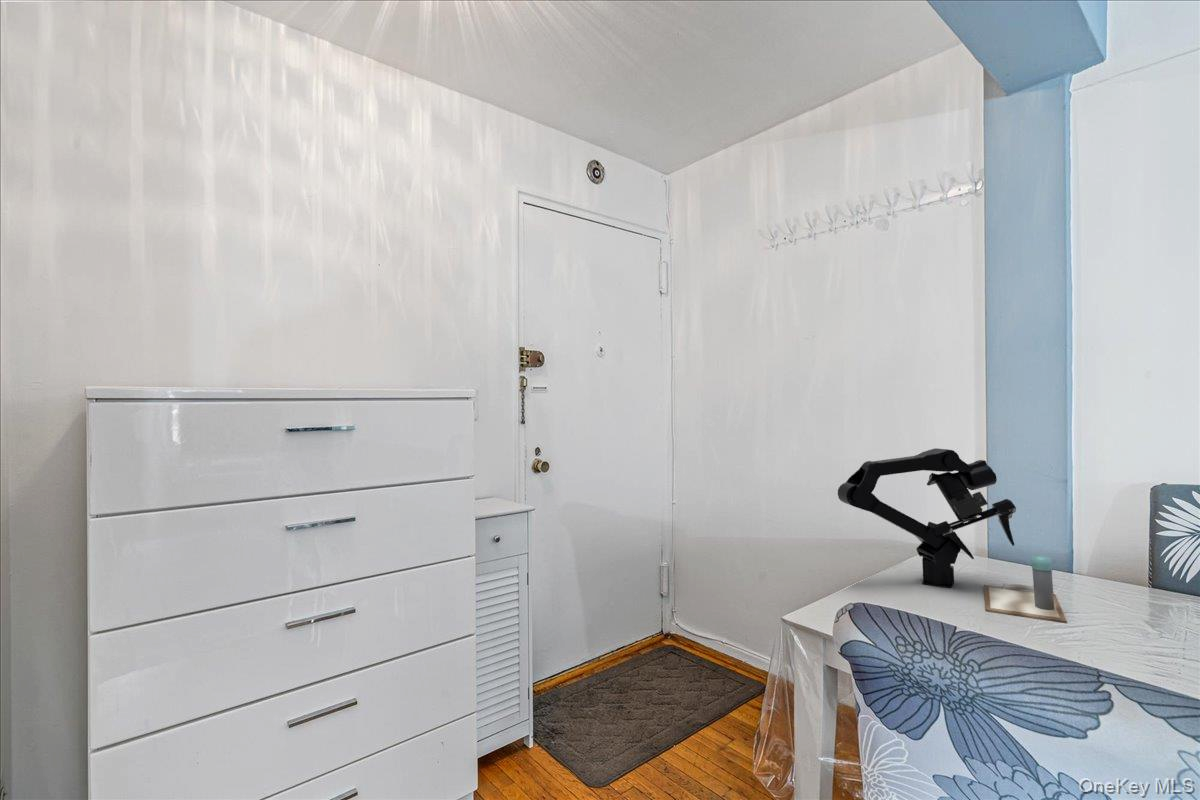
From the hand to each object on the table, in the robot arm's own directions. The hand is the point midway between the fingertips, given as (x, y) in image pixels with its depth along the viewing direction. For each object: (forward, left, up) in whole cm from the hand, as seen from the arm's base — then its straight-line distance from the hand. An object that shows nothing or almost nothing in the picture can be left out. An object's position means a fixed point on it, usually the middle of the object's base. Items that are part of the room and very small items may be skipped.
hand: (993, 552), depth 133 cm
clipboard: (+5, -5, -10) cm, 12 cm away
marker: (+9, -8, -10) cm, 15 cm away
